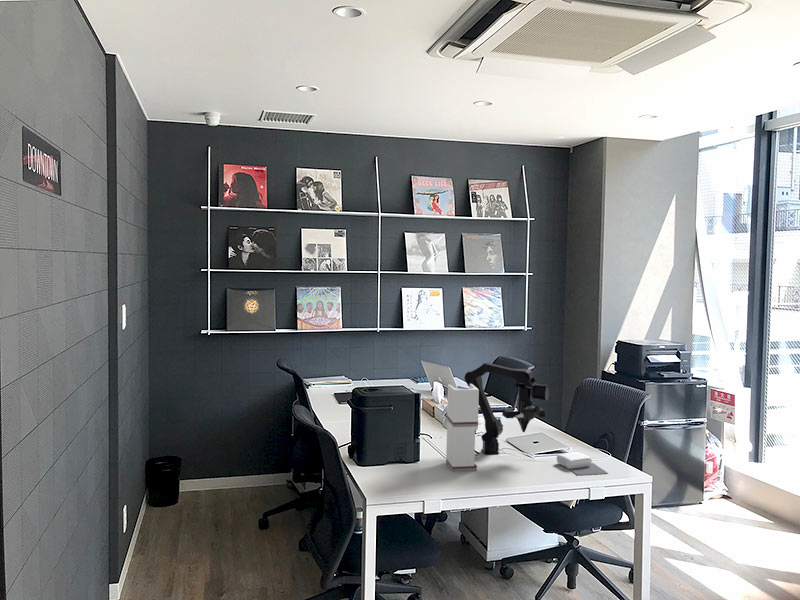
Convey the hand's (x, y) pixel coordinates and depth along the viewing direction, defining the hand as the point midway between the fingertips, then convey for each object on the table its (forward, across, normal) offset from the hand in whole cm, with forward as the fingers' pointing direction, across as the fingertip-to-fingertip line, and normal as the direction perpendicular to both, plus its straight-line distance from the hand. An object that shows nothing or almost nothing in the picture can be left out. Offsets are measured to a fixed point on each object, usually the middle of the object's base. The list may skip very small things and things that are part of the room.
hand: (523, 431), depth 303 cm
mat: (+12, +21, -19) cm, 31 cm away
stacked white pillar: (+12, -31, -7) cm, 34 cm away
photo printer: (+10, +13, -14) cm, 21 cm away
